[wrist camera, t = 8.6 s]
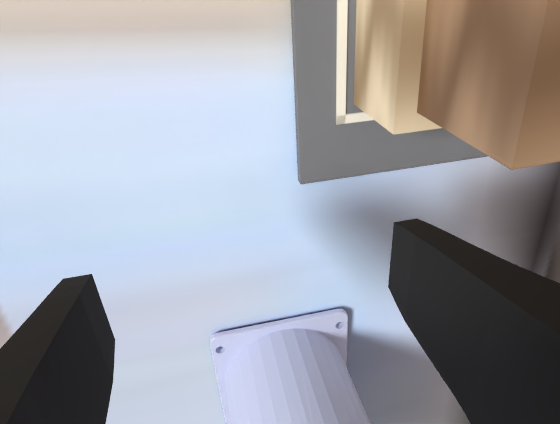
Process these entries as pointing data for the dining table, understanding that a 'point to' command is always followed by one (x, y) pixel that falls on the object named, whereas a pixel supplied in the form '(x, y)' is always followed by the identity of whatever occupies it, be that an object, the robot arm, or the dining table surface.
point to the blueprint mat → (348, 105)
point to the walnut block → (494, 76)
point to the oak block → (390, 63)
